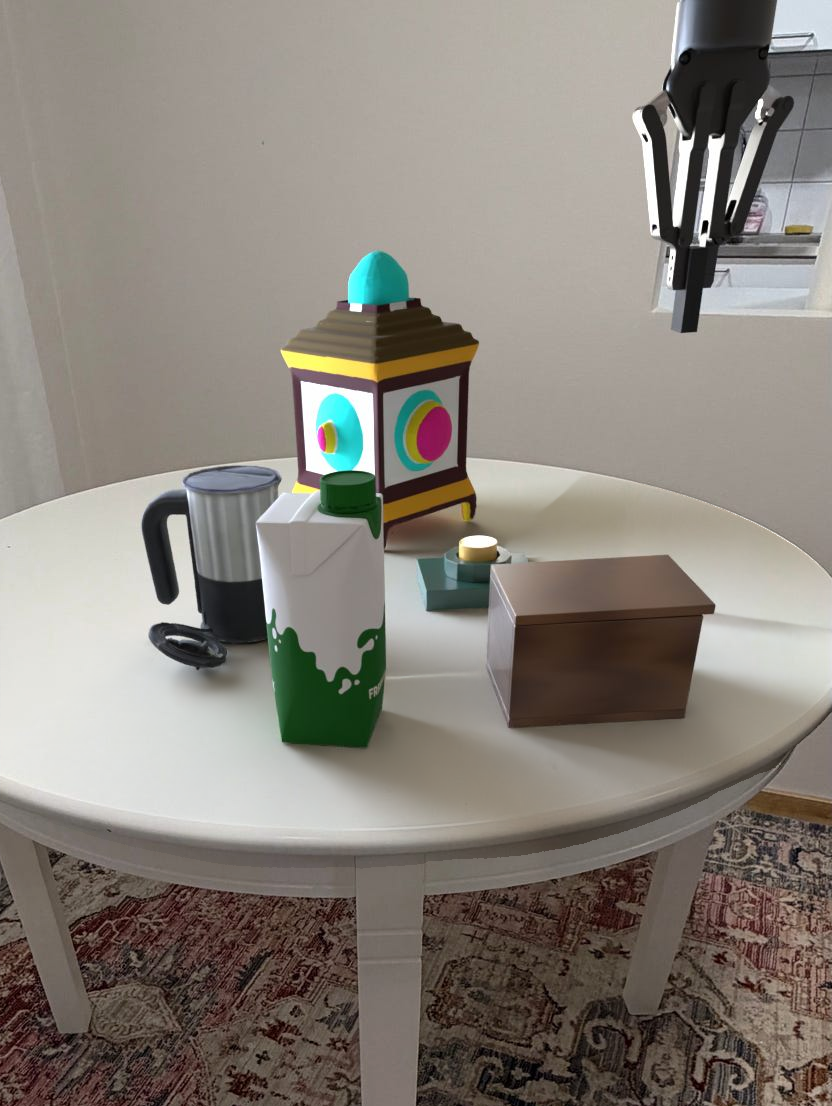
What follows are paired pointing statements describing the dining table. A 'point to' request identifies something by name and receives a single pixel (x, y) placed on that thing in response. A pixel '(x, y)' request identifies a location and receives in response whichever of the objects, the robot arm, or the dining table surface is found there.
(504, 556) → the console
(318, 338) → the decorative lantern
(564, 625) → the chest
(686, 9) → the robot arm
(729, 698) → the dining table surface
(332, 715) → the milk carton
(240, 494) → the milk frother
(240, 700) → the dining table surface
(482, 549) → the button
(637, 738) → the dining table surface
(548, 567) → the chest lid
